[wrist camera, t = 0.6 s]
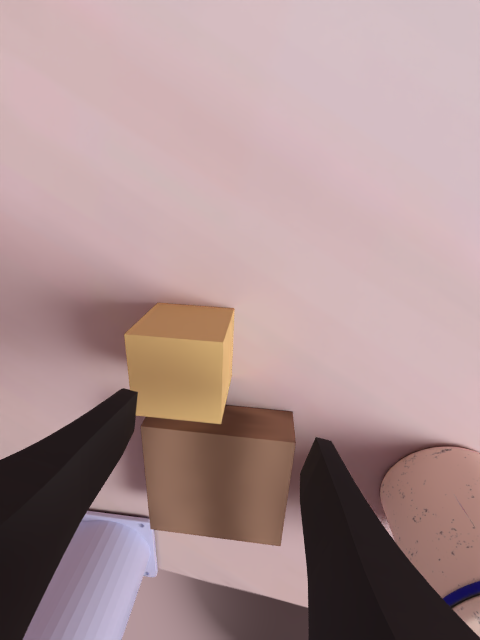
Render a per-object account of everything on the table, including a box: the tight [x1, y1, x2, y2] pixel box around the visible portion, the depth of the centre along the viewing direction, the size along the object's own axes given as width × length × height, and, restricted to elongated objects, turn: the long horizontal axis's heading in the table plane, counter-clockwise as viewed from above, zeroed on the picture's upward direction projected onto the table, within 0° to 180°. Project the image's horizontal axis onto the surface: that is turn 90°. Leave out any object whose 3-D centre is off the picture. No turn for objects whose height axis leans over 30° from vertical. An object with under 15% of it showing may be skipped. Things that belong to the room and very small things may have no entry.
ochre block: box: [124, 303, 234, 424], centre depth 18 cm, size 5×5×5 cm
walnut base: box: [141, 405, 296, 546], centre depth 23 cm, size 10×10×3 cm
